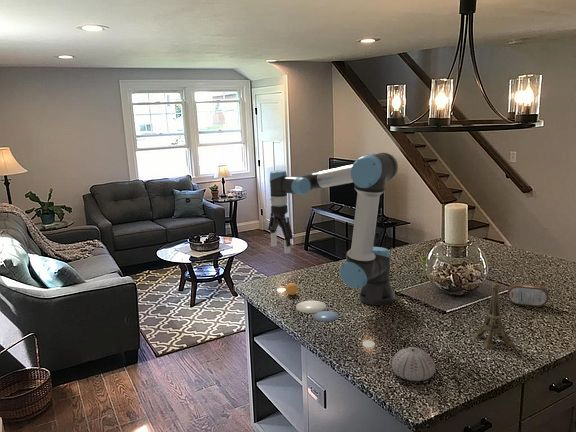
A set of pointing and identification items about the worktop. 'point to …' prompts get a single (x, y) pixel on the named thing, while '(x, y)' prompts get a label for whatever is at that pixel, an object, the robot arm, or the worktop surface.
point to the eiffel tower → (493, 322)
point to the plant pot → (424, 263)
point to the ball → (291, 288)
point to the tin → (528, 295)
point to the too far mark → (326, 316)
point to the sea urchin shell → (413, 364)
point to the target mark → (310, 306)
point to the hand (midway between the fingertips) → (280, 249)
